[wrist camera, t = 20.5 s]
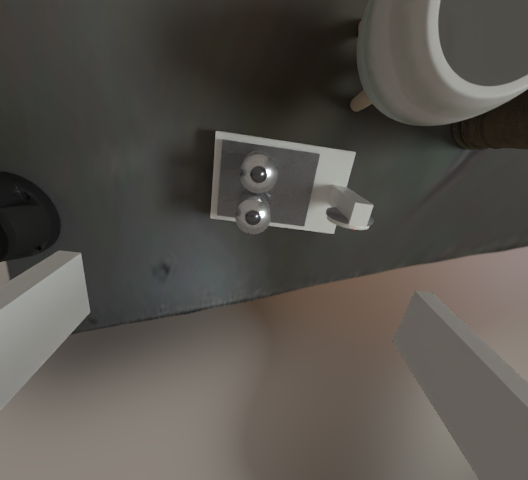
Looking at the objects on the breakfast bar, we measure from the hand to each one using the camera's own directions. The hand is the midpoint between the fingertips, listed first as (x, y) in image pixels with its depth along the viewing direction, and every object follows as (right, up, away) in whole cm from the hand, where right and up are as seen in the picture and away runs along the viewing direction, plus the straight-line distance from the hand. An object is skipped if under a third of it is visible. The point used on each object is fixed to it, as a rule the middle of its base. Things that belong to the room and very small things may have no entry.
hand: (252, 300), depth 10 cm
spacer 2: (-1, +8, +32) cm, 33 cm away
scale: (+4, +12, +35) cm, 37 cm away
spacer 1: (0, +14, +29) cm, 33 cm away
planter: (+18, +28, +28) cm, 44 cm away
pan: (+1, +11, +31) cm, 34 cm away
